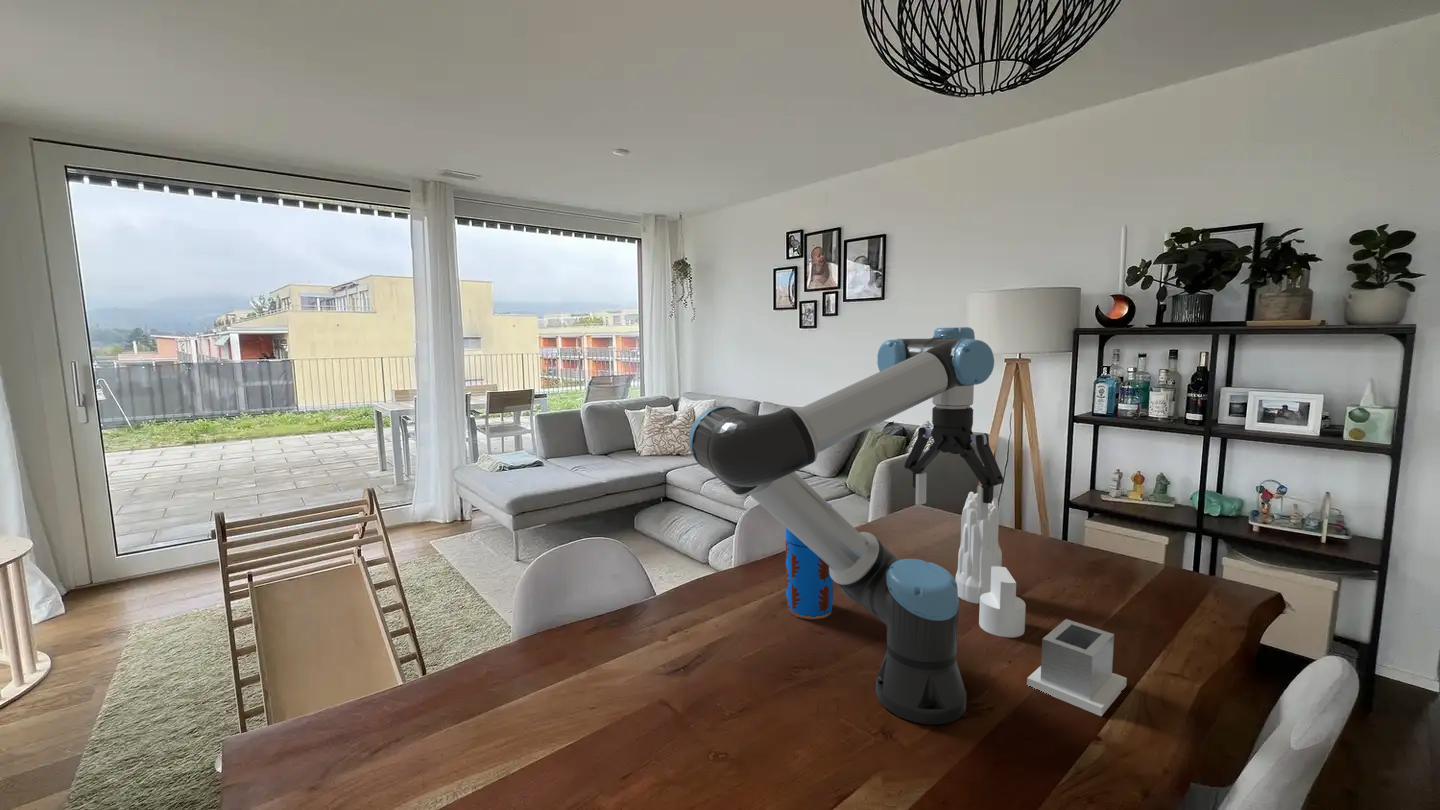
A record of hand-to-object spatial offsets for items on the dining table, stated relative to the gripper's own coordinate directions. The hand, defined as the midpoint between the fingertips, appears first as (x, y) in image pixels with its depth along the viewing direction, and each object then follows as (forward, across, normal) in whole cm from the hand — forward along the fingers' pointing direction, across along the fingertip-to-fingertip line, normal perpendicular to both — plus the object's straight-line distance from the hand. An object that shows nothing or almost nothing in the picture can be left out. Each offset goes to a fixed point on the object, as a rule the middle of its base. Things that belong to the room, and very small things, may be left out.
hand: (950, 511), depth 121 cm
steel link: (+27, -23, -5) cm, 36 cm away
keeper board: (+28, -23, -5) cm, 37 cm away
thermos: (+29, +29, +10) cm, 42 cm away
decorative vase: (+29, +8, -27) cm, 40 cm away
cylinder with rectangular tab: (+29, -3, -16) cm, 33 cm away
